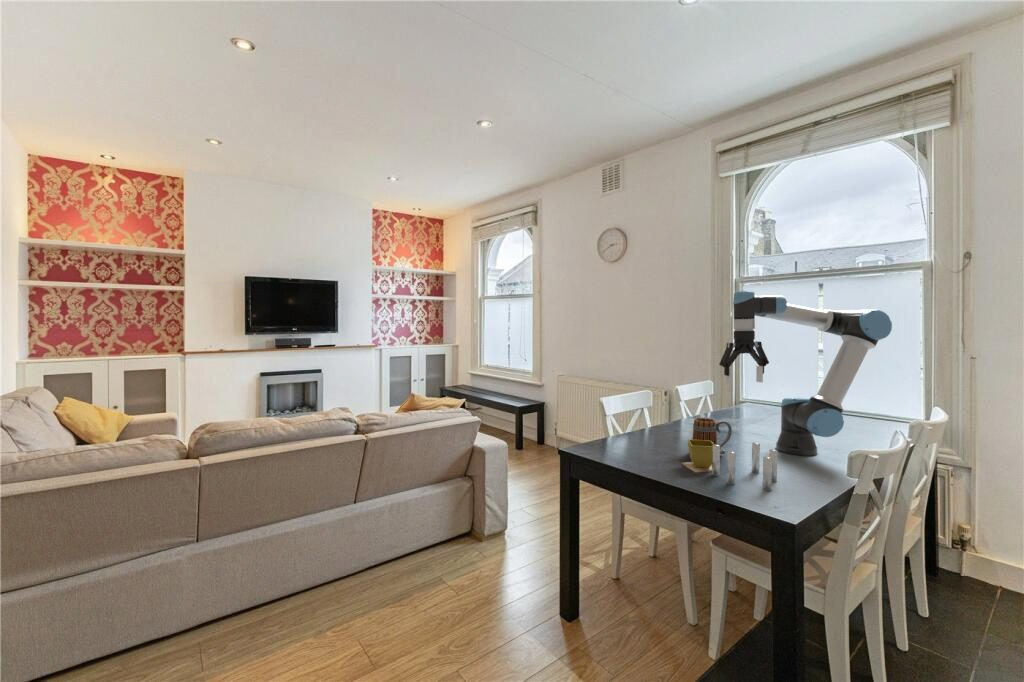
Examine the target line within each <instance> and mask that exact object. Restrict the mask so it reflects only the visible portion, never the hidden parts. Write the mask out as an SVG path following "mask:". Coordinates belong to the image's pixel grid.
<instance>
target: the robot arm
mask: <svg viewBox="0 0 1024 682" xmlns="http://www.w3.org/2000/svg"><path fill="white" fill-rule="evenodd" d="M732 304H733V307H732V308H733V329H734V331H733V340H734V341H733V342H726V348H725V350H724V352H723V355H722V357H721V358H720V359H721V360H720V361H719V366H720V367H723V369H724V370H723V371H724V372H723V373H724V374H723V375H724V376H725V384H727V385H733V368H732V367H731V366H732V365H733V364H734V362H735V360H736V359H737V358H738V357H739V356H740V355H741V354H749V355H750V356H751V357H752V358H753V360H754V361H755V362H756V364H757V365H755V366H756V370H755V371H756V374H755V375H756V382H757V383H763V382H764V377H763V376H764V374H765V367H766V366H767V365H769V363H770V361H769V359H768V357H767V355H766V353H765V350H764V349H763V343H762V341H759V340H758V341H754V340H755V339H756V334H755V333H756V332H755V329H756V324H755V323H756V319H755V317H760V318H766V319H771V320H776V321H781V322H787V323H792V324H796V325H802V326H806V327H811V328H815V329H818V331H820V332H825V333H828V334H832V335H835V336H838V337H839V336H840V338H841V340H842V344H841V346H840V347H839V350H838V352H837V353H836V355H835V358H834V359H833V362H832V364H831V365H830V368H829V369H828V372H827V374H826V376H825V378H824V380H823V382H822V384H821V385H820V387H819V390H818V392H817V394H815V395H812V396H810V397H787V398H785V397H784V398H783V399H781V400H782V401H781V405H780V407H781V414H780V416H781V417H780V423H781V425H780V433H779V435H778V438H777V441H776V443H775V450H777V451H778V452H782V453H786V454H788V455H789V454H790V455H795V456H805V457H806V456H815V455H817V454H818V447H817V445H816V441H815V437H816V436H817V437H822V438H830V437H834V436H836V435H838V434H839V433H840V432H841V431H842V430H843V427H844V424H845V421H844V416H843V412H844V408H843V406H842V404H843V402H844V399H845V397H846V395H847V393H848V391H849V389H850V388H851V386H852V383H853V381H854V379H855V377H856V375H857V373H858V371H859V369H860V367H861V366H862V364H863V361H864V359H865V358H866V355H867V354H868V352H869V350H871V349H874V348H875V347H876V346H877V344H878V342H879V341H881V340H884V339H885V338H887V337H889V335H890V334H891V331H892V329H893V324H892V321H891V318H890V316H889V315H888V314H887V313H886V312H884V311H882V310H880V309H873V308H868V309H867V308H865V309H845V310H844V309H842V310H837V309H836V310H834V309H831V308H830V309H829V308H826V309H823V310H820V309H816V308H811V307H807V306H801V305H795V304H790V303H788V301H787V299H786V297H785V296H784V295H780V294H778V295H777V294H774V295H773V294H772V295H756V294H755V291H753V290H741V291H736V292H734V293H733V302H732ZM814 436H815V437H814Z"/></svg>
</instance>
